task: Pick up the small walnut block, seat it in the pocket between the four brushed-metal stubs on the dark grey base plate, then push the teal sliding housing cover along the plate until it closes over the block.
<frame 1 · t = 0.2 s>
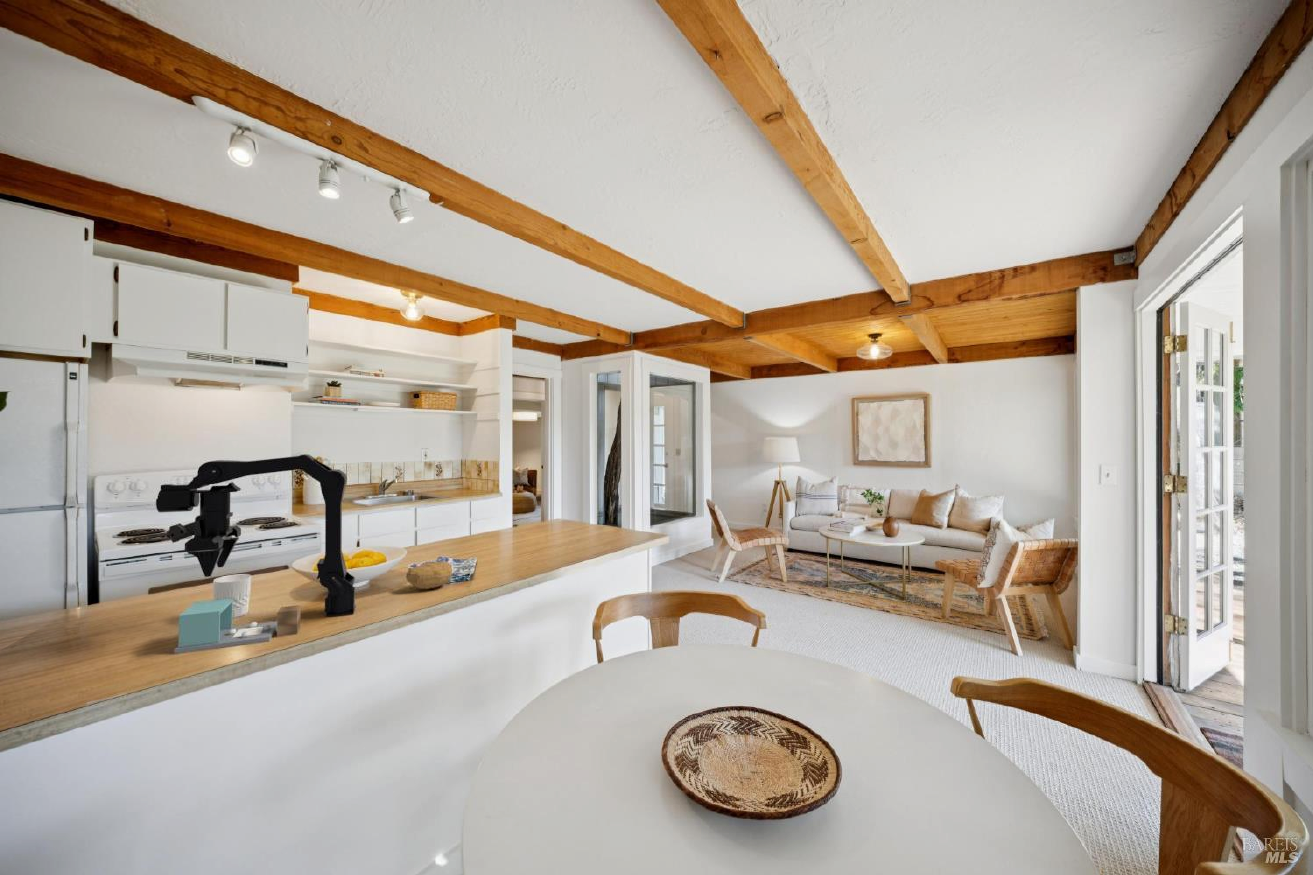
hand: (214, 571, 124), 14 cm above the table, fingers open, 9 cm apart
housing cover: (206, 621, 116), point 5 cm above the table, slide at 8.0 cm
white cup: (231, 615, 133), on the table
base plate: (230, 638, 118), on the table
potato: (429, 588, 160), on the table
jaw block: (288, 632, 122), on the table
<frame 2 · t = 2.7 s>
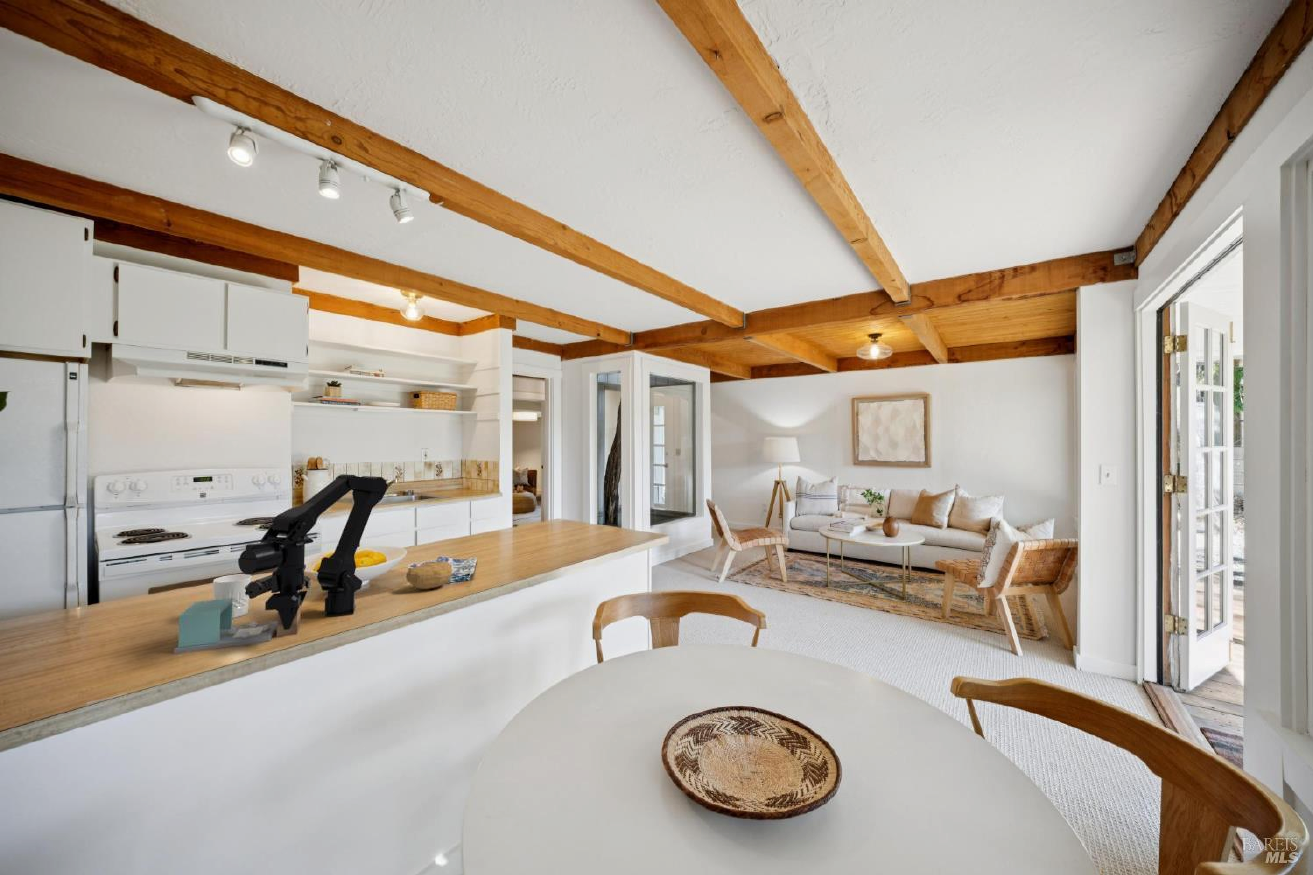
hand: (288, 626, 122), 2 cm above the table, fingers closed on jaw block, 4 cm apart
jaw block: (288, 632, 122), on the table, touching gripper
everything else where it was.
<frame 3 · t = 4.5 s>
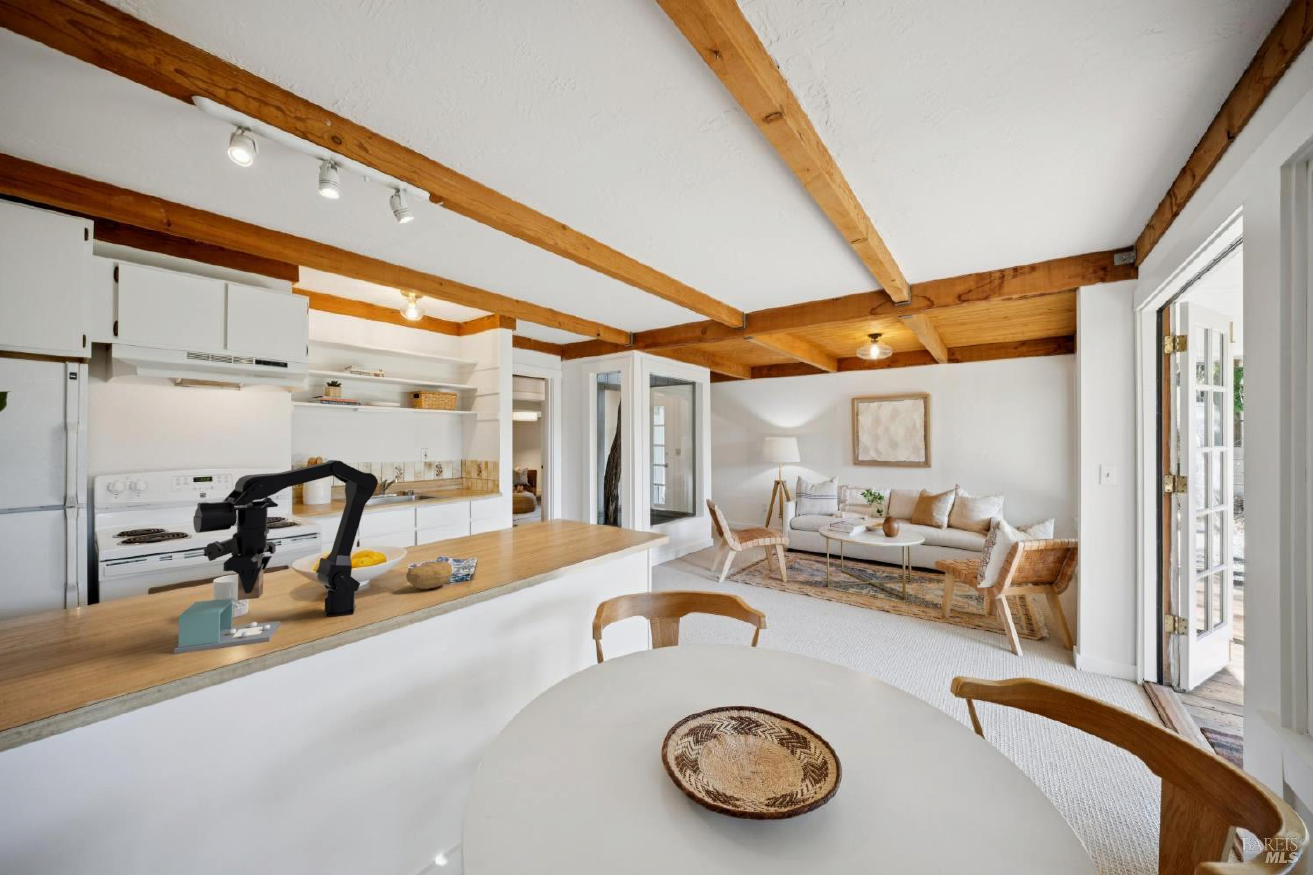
hand: (250, 590, 120), 11 cm above the table, fingers closed on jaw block, 4 cm apart
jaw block: (250, 596, 120), point 10 cm above the table, touching gripper
everything else where it was.
when the fingers open (3 cm above the table, at t = 6.1 s): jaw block stays where it is, resting on base plate.
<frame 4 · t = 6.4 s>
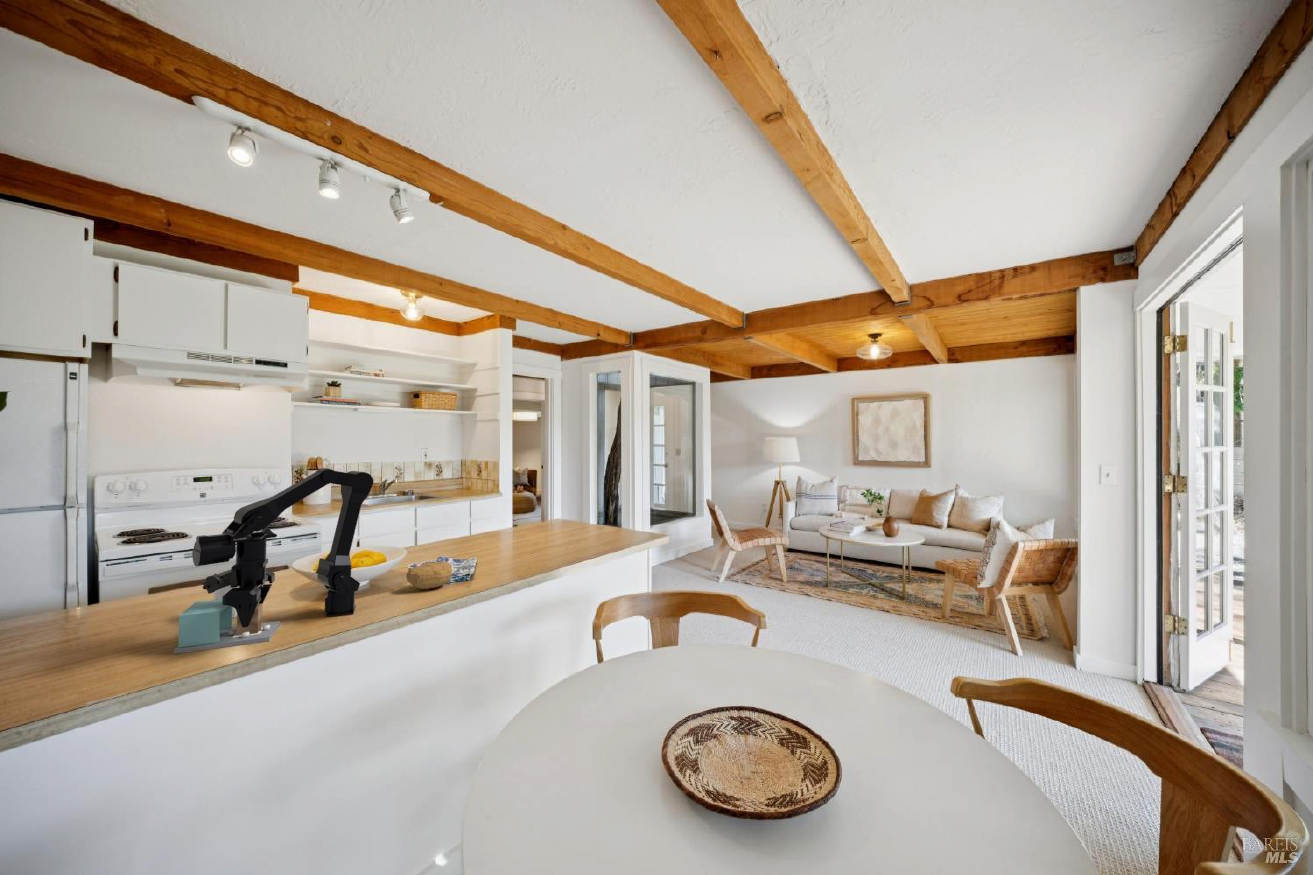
hand: (249, 621, 120), 3 cm above the table, fingers open, 7 cm apart
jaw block: (249, 631, 120), point 1 cm above the table, touching base plate
everything else where it was.
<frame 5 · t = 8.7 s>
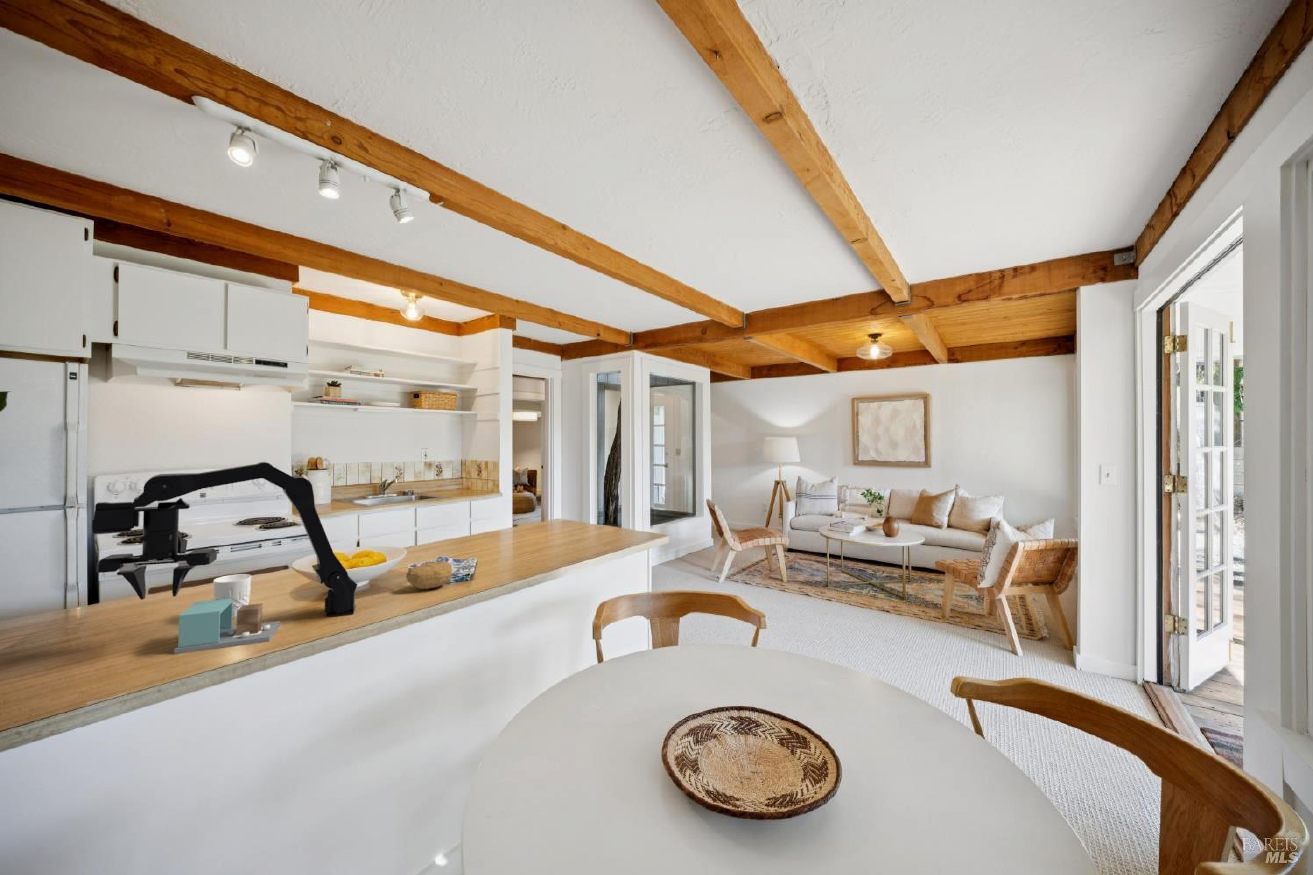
hand: (159, 597, 112), 12 cm above the table, fingers open, 5 cm apart
nothing on the table moved.
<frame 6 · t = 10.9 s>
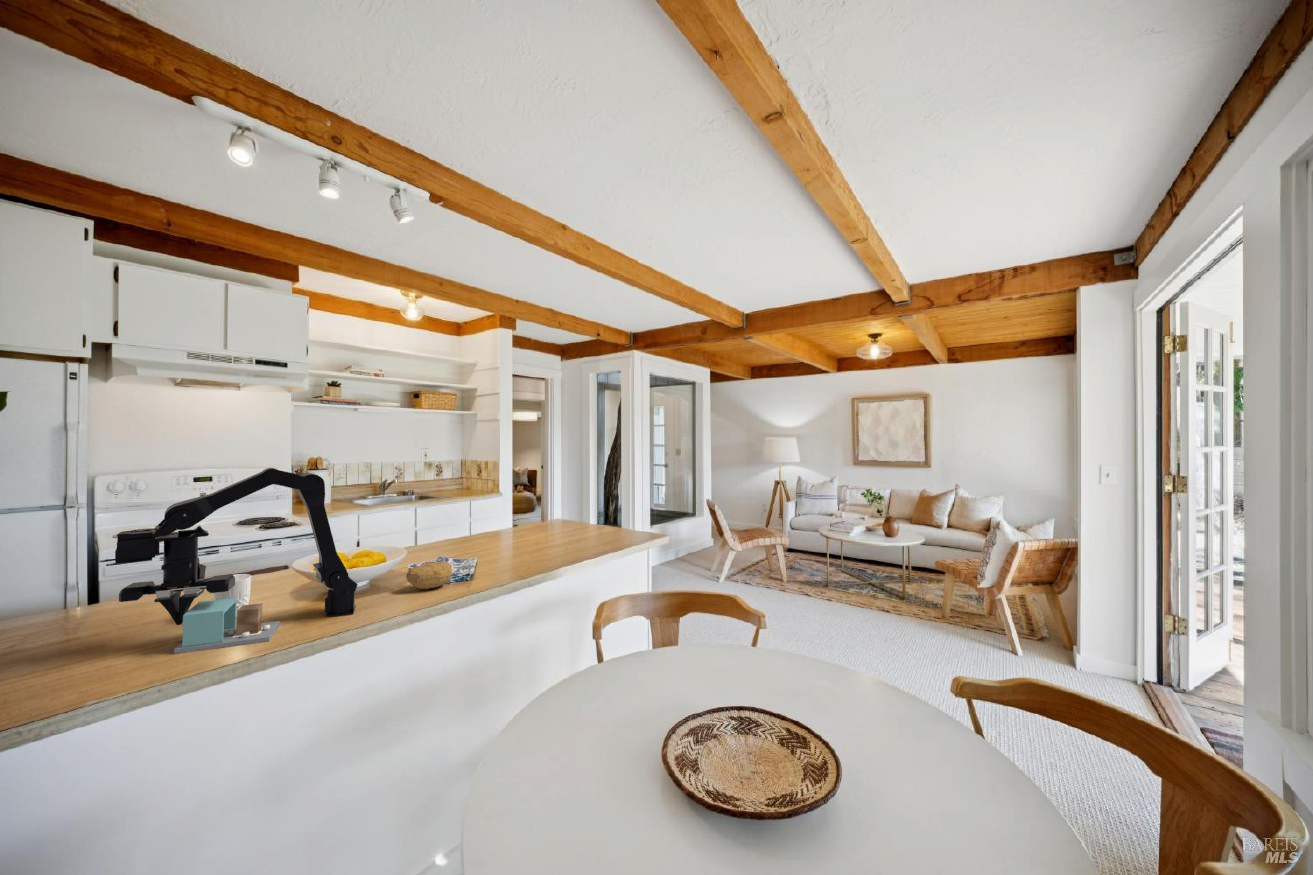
hand: (179, 624, 114), 5 cm above the table, fingers closed
housing cover: (210, 621, 116), point 5 cm above the table, slide at 7.3 cm, touching gripper
everything else where it was.
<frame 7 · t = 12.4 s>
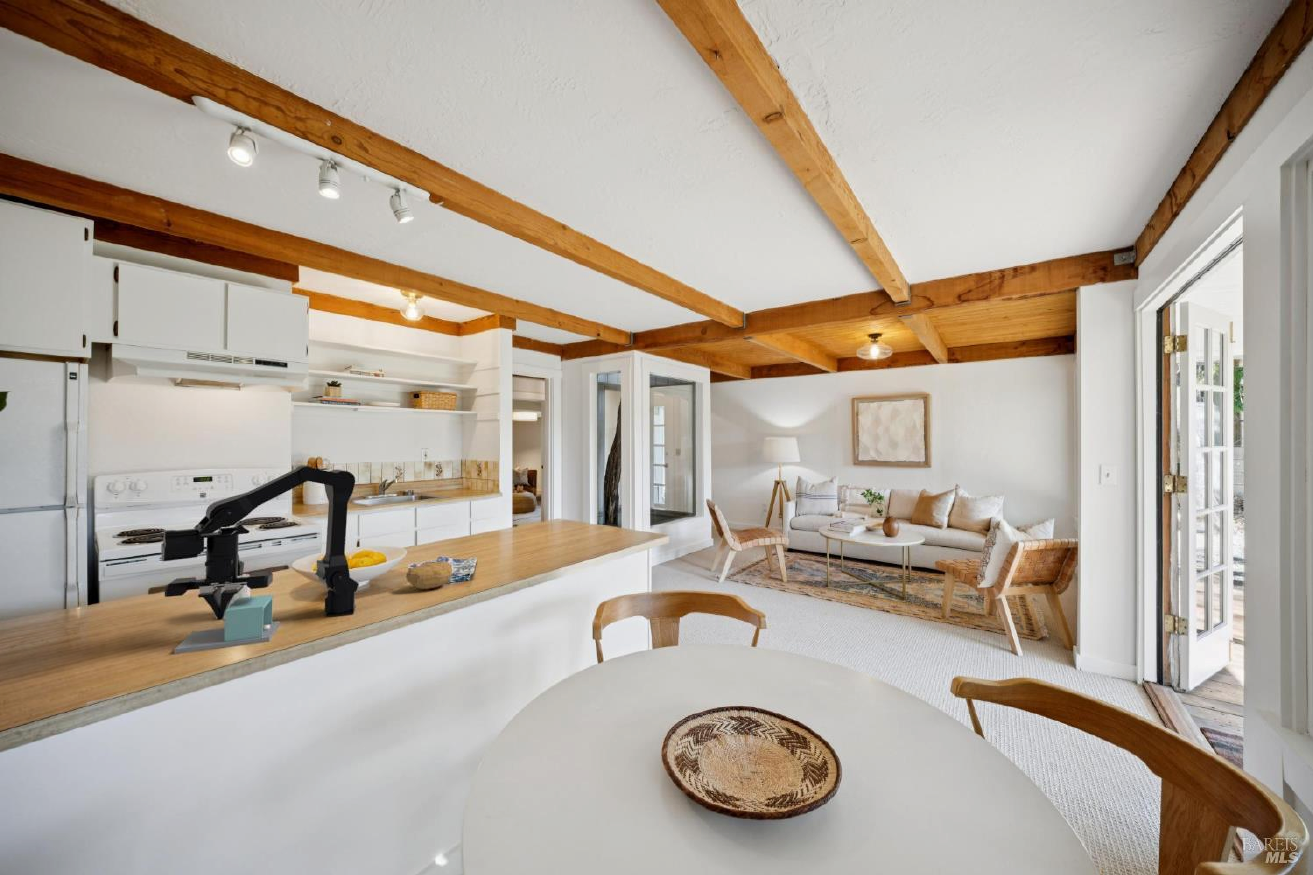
hand: (220, 619, 117), 5 cm above the table, fingers closed
housing cover: (249, 616, 120), point 5 cm above the table, slide at 0.0 cm, touching gripper
everything else where it was.
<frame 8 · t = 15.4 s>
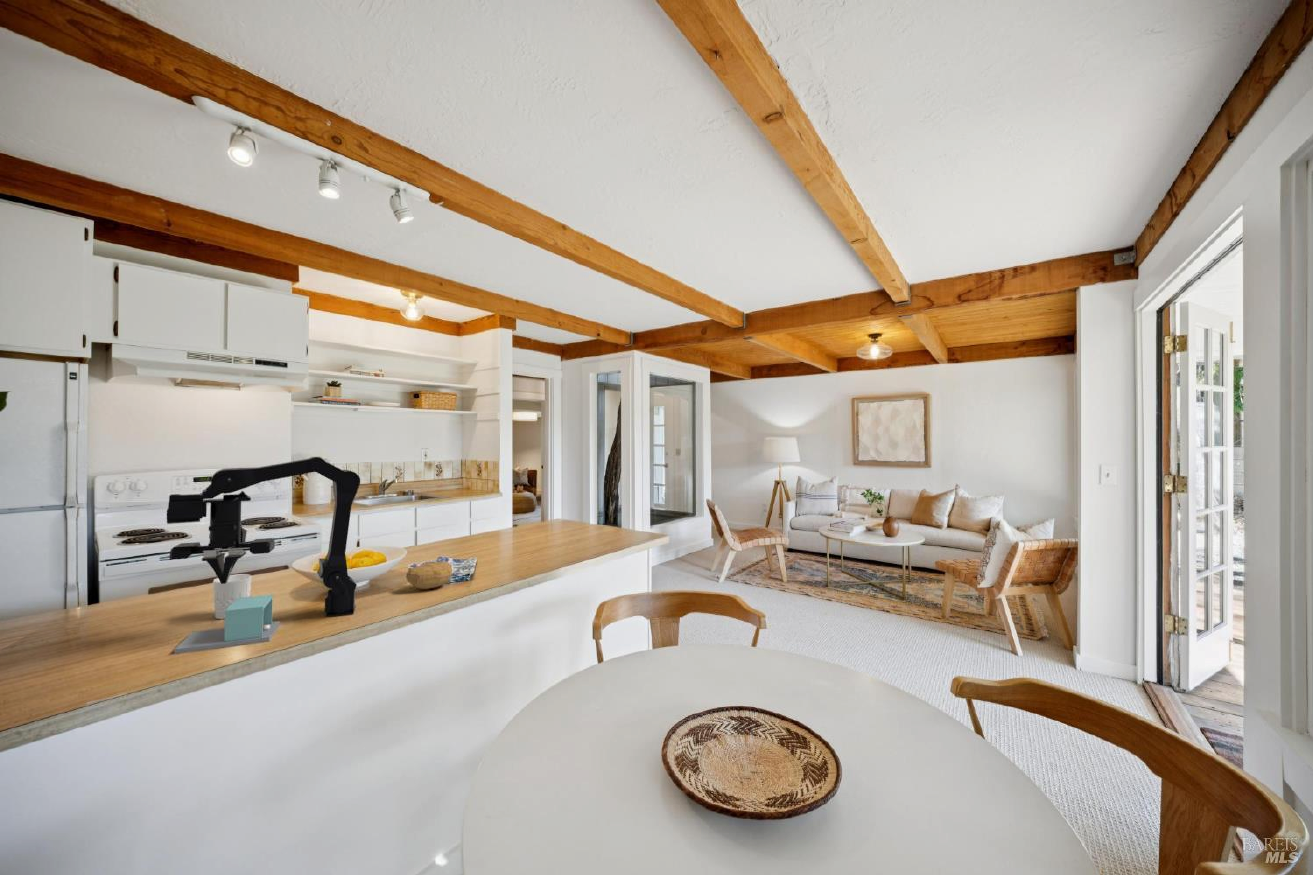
hand: (224, 583, 121), 12 cm above the table, fingers closed
housing cover: (249, 616, 120), point 5 cm above the table, slide at 0.0 cm
everything else where it was.
at the end: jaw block 0.0 cm from the target spot on the base plate, point 1.1 cm above the base plate's base; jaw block tilted 0°; housing cover slide at 0.0 cm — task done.
